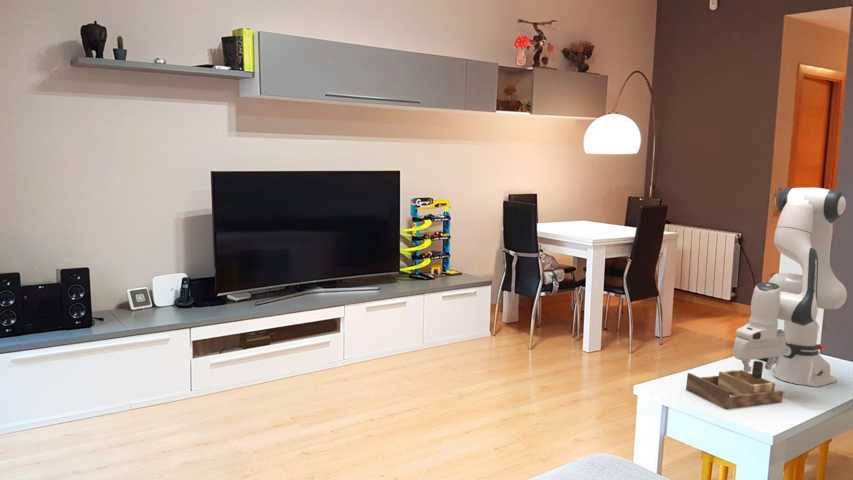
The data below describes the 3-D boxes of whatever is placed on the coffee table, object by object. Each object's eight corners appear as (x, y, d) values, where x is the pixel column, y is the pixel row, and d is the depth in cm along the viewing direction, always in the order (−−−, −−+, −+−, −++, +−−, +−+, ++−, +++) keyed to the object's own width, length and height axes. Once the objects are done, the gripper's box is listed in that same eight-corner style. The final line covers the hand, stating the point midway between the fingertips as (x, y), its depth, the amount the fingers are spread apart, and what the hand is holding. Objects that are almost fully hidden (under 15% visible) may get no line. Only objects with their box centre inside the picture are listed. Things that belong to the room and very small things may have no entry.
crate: (741, 385, 247) (745, 355, 246) (775, 400, 234) (779, 368, 233) (717, 388, 243) (720, 357, 242) (750, 403, 230) (754, 371, 228)
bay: (739, 387, 250) (741, 368, 249) (781, 405, 233) (783, 385, 232) (685, 392, 241) (687, 373, 240) (725, 412, 224) (727, 391, 223)
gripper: (777, 326, 244) (772, 364, 246) (732, 330, 236) (727, 369, 238) (793, 331, 238) (788, 370, 240) (747, 335, 230) (742, 375, 233)
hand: (757, 370), depth 239 cm, fingers open, 8 cm apart
